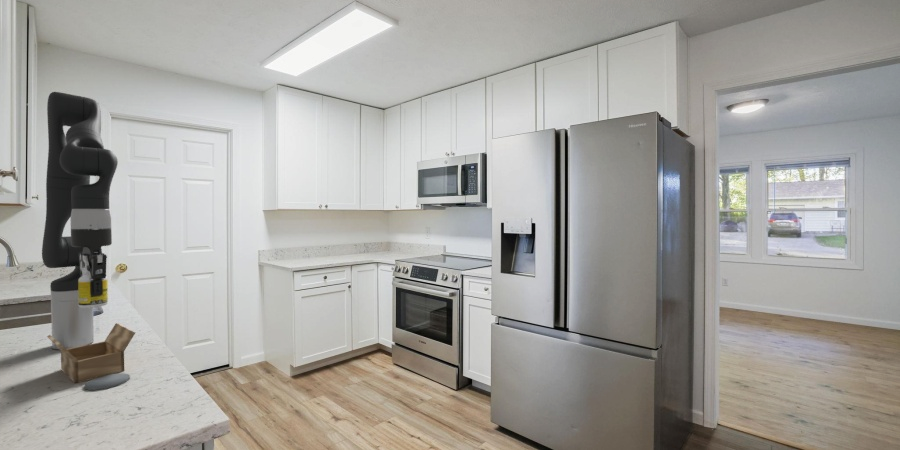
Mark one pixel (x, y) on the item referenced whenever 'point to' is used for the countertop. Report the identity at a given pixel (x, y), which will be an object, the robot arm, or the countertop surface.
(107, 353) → the carton
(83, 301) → the supplement bottle
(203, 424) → the countertop surface
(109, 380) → the coaster
